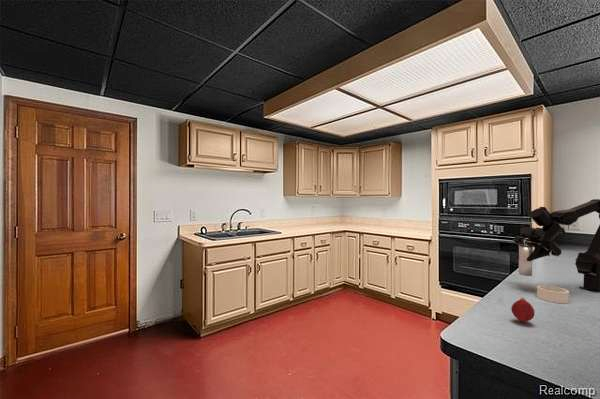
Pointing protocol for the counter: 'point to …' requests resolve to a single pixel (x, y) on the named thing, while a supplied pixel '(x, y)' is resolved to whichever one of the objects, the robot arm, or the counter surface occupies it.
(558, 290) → the bowl
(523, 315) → the onion
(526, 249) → the canister
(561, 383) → the counter surface
